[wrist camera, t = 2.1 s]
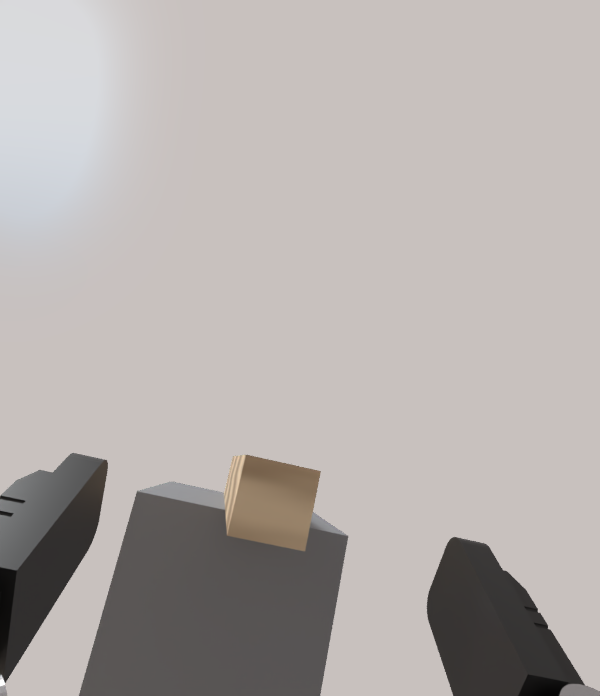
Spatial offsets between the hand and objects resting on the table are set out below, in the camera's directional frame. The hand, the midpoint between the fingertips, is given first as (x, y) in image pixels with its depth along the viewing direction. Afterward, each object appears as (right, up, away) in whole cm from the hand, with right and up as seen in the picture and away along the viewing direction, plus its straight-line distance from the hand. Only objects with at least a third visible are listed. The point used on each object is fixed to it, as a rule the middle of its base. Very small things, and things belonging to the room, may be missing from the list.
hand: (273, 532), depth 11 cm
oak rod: (-2, -5, +18) cm, 19 cm away
